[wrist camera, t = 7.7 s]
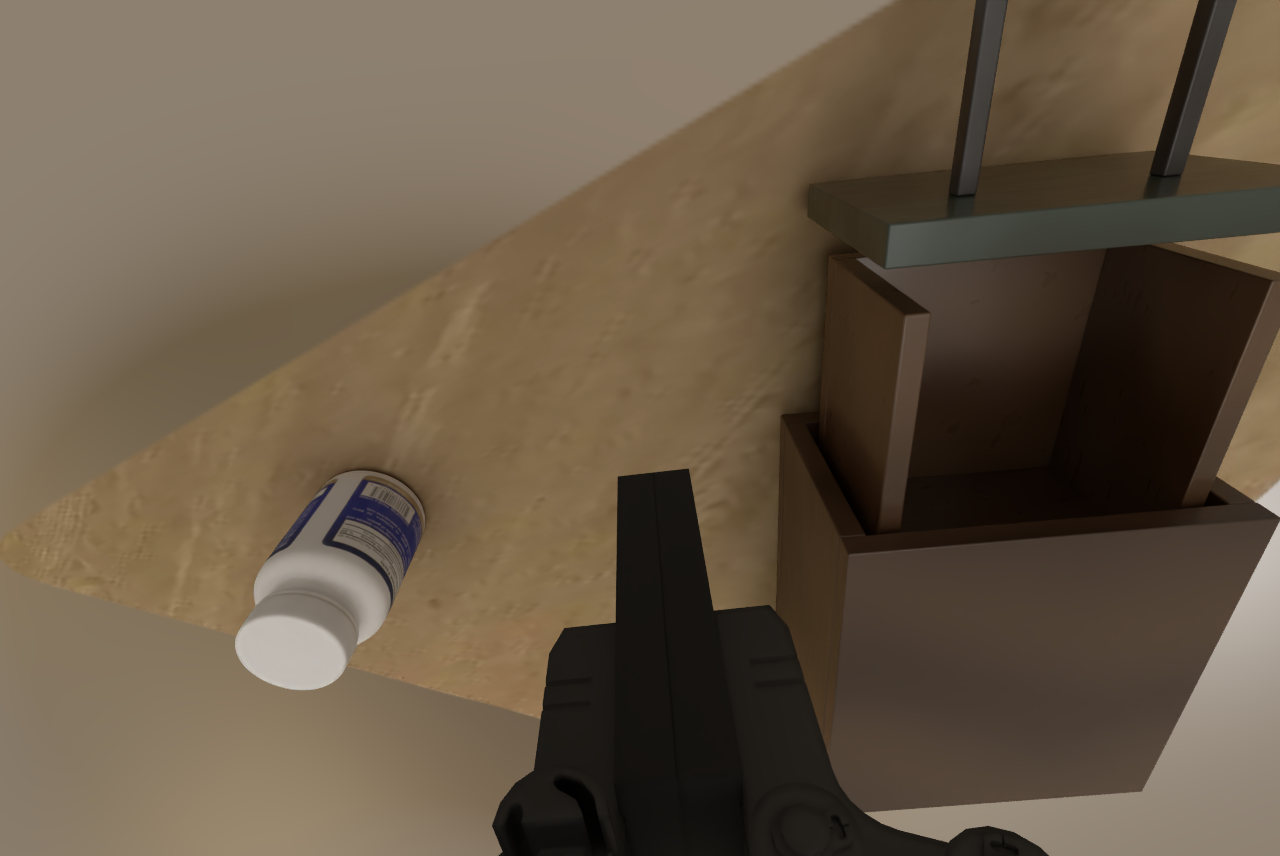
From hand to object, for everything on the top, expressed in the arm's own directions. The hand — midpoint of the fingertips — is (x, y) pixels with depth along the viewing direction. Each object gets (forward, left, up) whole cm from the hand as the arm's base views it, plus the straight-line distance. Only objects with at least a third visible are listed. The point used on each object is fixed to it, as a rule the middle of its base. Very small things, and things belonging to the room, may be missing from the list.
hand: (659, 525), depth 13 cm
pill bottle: (+9, -14, -15) cm, 22 cm away
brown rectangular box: (+13, +13, -14) cm, 23 cm away
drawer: (-1, +13, -13) cm, 19 cm away
